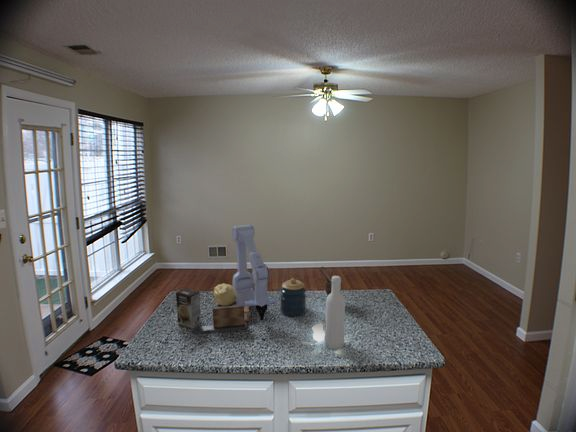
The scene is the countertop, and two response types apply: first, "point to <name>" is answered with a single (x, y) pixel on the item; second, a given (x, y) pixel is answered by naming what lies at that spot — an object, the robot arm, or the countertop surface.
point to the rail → (217, 328)
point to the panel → (228, 316)
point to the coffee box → (188, 307)
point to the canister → (293, 298)
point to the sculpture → (224, 294)
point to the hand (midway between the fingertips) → (261, 319)
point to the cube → (246, 314)
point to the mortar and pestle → (328, 281)
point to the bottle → (335, 316)
